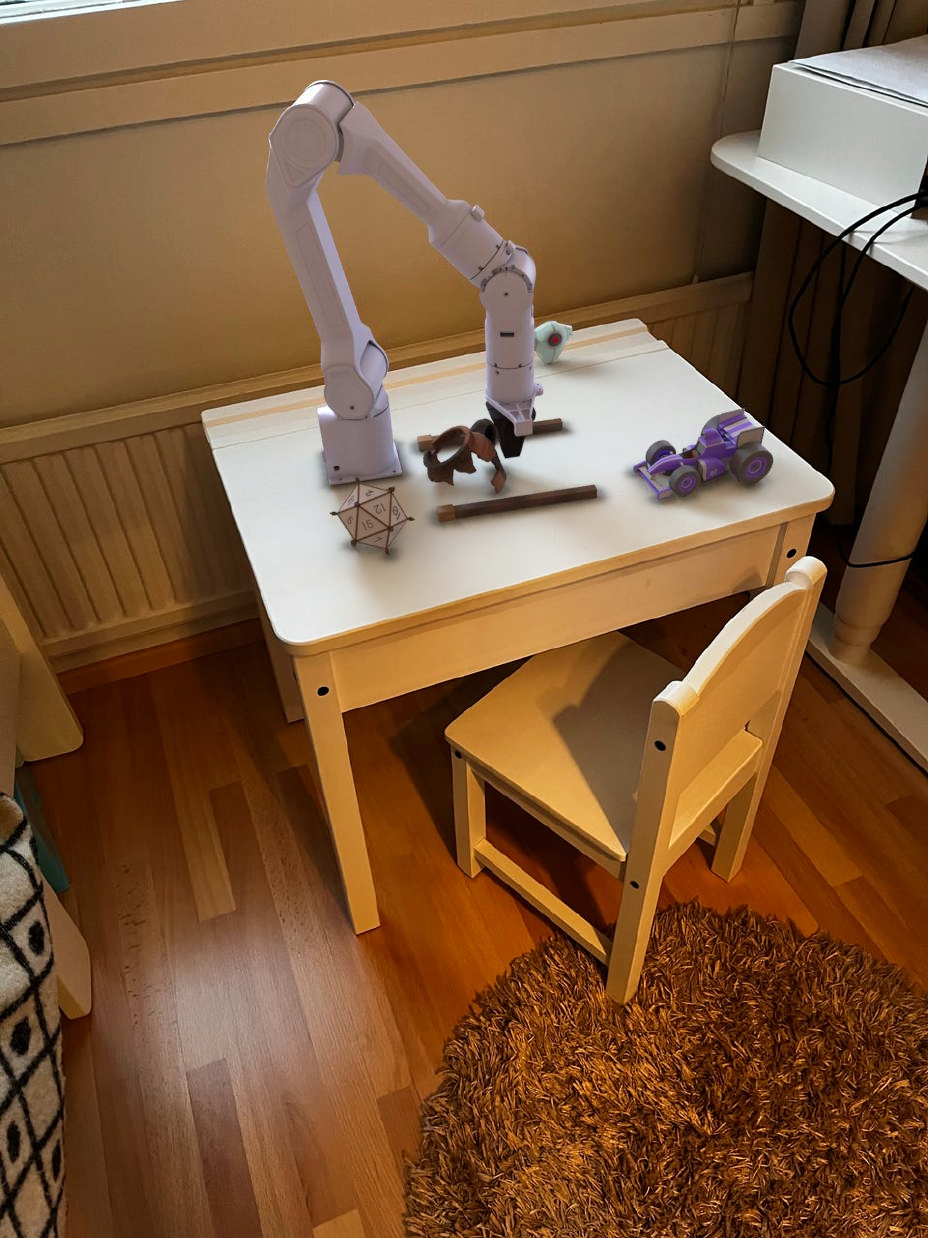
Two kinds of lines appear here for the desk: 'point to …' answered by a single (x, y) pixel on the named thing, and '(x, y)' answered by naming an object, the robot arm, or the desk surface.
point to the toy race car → (709, 456)
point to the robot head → (551, 340)
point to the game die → (372, 516)
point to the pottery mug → (466, 453)
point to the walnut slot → (517, 501)
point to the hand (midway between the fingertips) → (511, 454)
